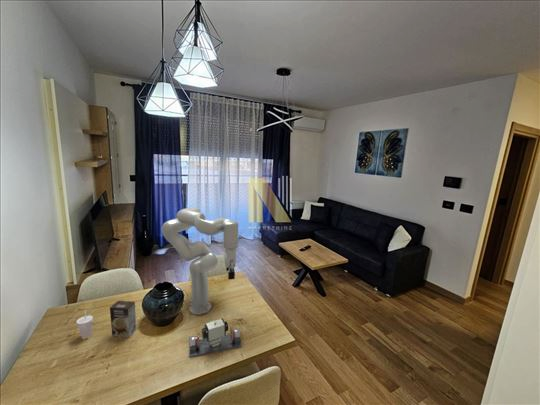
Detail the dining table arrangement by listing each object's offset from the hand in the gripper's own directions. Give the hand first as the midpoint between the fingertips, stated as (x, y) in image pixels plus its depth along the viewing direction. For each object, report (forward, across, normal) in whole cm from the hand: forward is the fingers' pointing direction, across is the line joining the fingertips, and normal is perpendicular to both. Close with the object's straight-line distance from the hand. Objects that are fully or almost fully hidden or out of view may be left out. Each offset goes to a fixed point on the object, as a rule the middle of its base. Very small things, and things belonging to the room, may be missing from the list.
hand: (230, 274), depth 128 cm
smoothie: (+29, -5, -70) cm, 75 cm away
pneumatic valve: (+27, +16, -9) cm, 33 cm away
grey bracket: (+28, +16, -9) cm, 33 cm away
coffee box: (+29, -3, -53) cm, 60 cm away
